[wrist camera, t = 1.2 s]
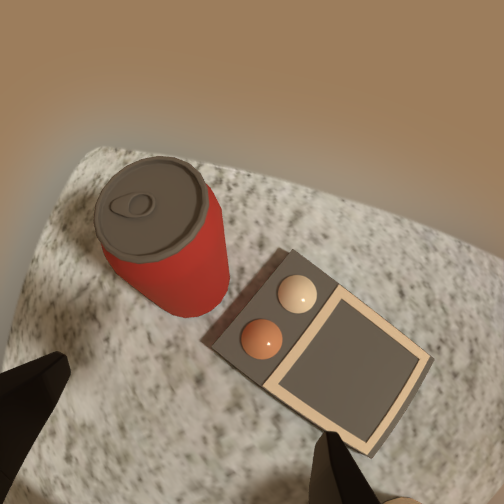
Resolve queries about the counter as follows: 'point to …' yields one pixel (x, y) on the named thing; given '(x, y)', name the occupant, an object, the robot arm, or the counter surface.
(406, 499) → the white cup
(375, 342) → the slate card
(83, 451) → the counter surface
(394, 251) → the counter surface
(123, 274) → the beer can
